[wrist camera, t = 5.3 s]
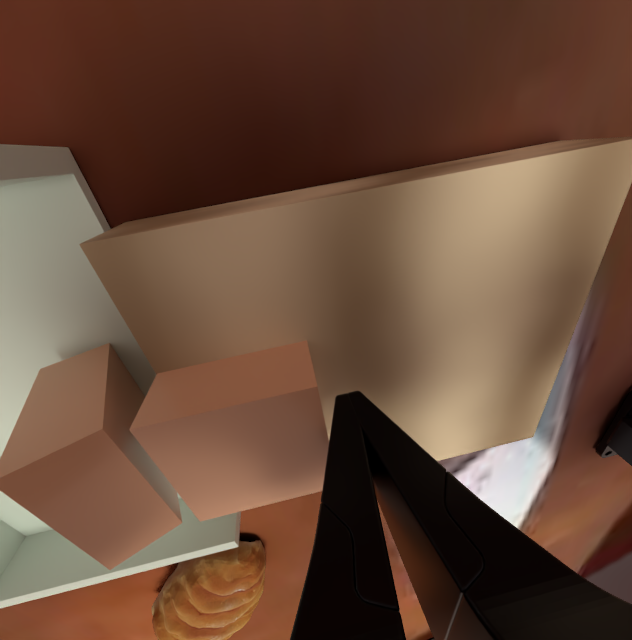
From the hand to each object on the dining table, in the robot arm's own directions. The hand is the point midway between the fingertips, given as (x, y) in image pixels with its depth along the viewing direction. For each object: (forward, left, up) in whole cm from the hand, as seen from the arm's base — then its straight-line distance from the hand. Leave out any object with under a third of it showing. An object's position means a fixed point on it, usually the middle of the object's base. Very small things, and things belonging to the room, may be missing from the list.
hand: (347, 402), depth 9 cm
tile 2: (+7, 0, -1) cm, 7 cm away
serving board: (-2, 0, -3) cm, 4 cm away
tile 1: (+3, 0, -1) cm, 3 cm away
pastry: (+11, +18, -4) cm, 21 cm away
